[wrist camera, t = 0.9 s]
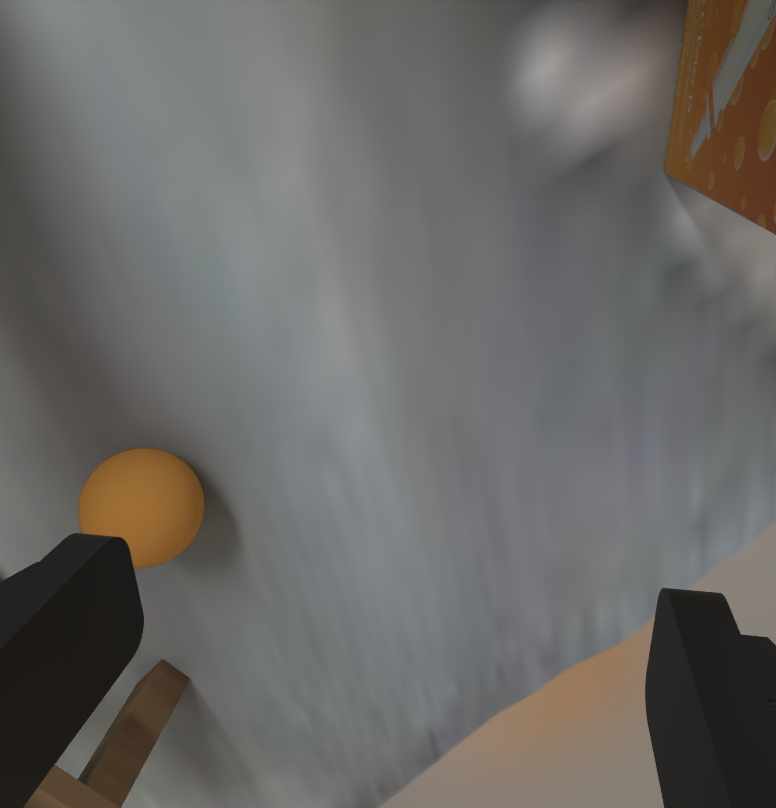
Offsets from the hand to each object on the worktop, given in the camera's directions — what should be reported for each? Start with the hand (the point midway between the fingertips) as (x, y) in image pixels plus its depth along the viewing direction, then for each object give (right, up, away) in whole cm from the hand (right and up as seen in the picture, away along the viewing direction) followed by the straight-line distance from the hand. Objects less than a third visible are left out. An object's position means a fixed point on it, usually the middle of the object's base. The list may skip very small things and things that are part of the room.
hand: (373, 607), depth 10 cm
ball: (-11, -2, +21) cm, 24 cm away
